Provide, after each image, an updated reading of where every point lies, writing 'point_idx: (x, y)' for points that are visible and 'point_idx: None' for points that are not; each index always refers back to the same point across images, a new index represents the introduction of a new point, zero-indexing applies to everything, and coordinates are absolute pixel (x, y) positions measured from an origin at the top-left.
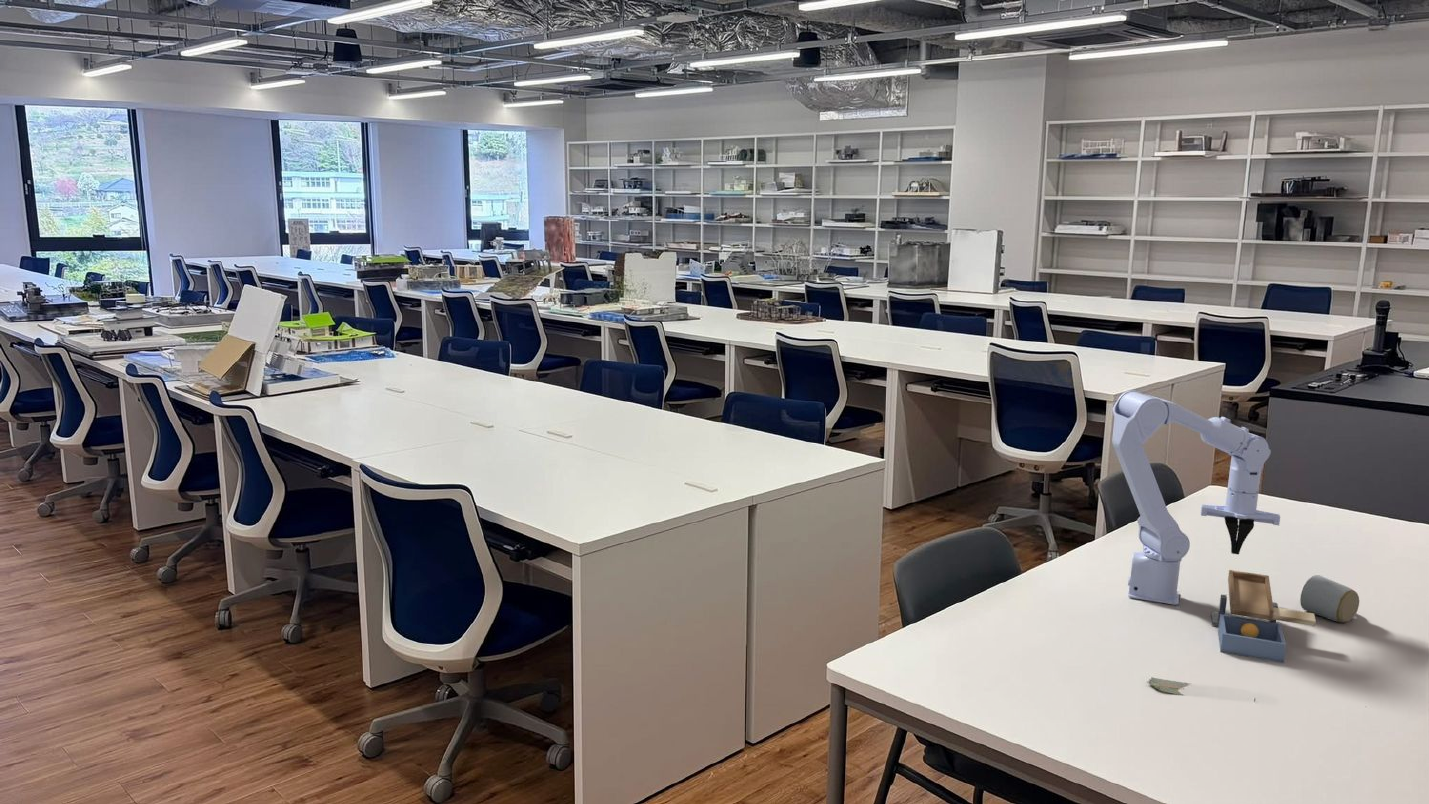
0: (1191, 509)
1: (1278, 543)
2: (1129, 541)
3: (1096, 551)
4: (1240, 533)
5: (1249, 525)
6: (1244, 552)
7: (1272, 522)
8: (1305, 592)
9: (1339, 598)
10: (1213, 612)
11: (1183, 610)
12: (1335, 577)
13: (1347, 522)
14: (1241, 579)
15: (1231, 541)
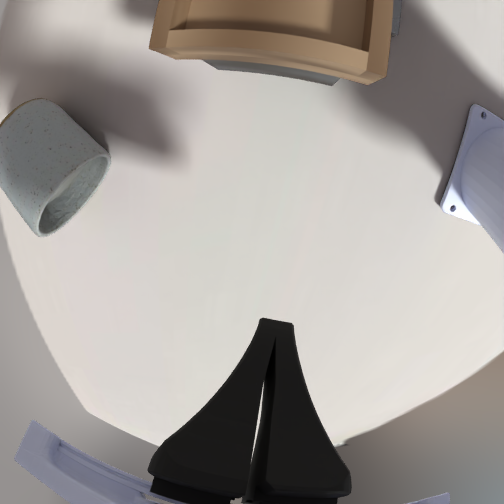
0: None
1: (171, 414)
2: (377, 414)
3: (456, 377)
4: (250, 422)
5: (177, 475)
6: None
7: (61, 447)
8: (74, 155)
9: (12, 116)
10: (393, 25)
11: (463, 70)
12: (96, 339)
13: (125, 425)
14: (309, 37)
15: (302, 376)
